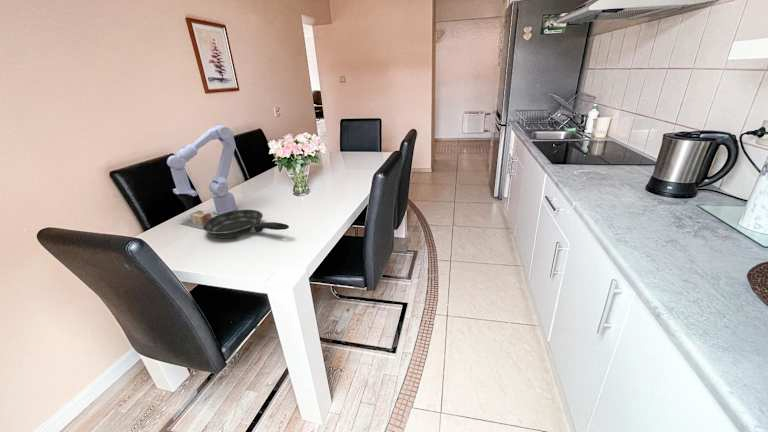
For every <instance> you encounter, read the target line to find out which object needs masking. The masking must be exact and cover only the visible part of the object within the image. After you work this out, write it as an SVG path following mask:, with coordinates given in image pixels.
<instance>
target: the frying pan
mask: <svg viewBox="0 0 768 432" xmlns="http://www.w3.org/2000/svg"><path fill="white" fill-rule="evenodd" d="M263 215H264V214H263V213H262V211H259V210H256V209H235V210H233V211H230V212H226V213H223V214H216V215H215V216H213V217H212V216H211V217H212V218H211V219H209V220H207V221H206V222H205V223H204V224H203V226H202V228H203V229H202V230H203V231H205V232H206V233H208V234H209V235H210V236H212V237H214V238H219V239H230V238H232V239H233V238H236V237H237V238H238V237H240V236H244V235H246V234H248V233H256V234H257V233H260V232H262V231H263V229H268V230H273V231H274V230H275V231H277V230H278V231H279V230H288V229H289V228H290V226H289V225H288V224H286V223H282V222H275V221H273V222H271V221H269V222H261V221H262V219H263V217H264V216H263Z"/></svg>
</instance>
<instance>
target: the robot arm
mask: <svg viewBox="0 0 768 432" xmlns="http://www.w3.org/2000/svg"><path fill="white" fill-rule="evenodd" d="M212 140H213V141H214V140H219V142H220V143H221V144H222V151H221V155H220V157H219V158H220V159H219V163H218V166H217V169H216V174H215V176H214V177H213V178H212V181H211V182H210V183H209V185H208V189H209V191H210V192H211V193H212V196H211V197H212V199H213V204H214V208H215V210H214V211H212V213H214V214H216V215H220V214H223V213H226V212H230V211H236V210H239V209H238V207H237V204H236V199H235V197H234V195H233V193H231V192H229V181H228V176H229V172H230V168H231V164H232V161H233V157H234V153H235V149H236V145H237V144H236V141H235V137H234V132H233V130H232V129H231V128H230V127H229V126H226V125H221V124H214V125H213V126H212V127H210V128H208V129H207V130H206V131H205V132H204V133H203V134H202V135H200V137H198V138H197V139H196V140H195V141H194V142H193V143H191V144H189V143H188V144H186V145H185V144H183V145H182V146H181V147H182V148H181V149H179V150H178V151H177V152H173V155H170V156H169V157H168V158H167V160H166V164H167V166H168V167H170V172H171V175H172V176H171V177H172V179H173V182H174V185H175V188H173V189H172V192H173V193H174V194H175V195H177V198H178V199H179V200H180V201H181V202H182V203H183V205H184V207H185V208H186V209H187V210H190V209H193V202H194V197H196V196H198V192H197V191H196V190H194V189H193V188H192V187H191V184H190V181H189V180H190V179H189V178H188V173H187V171H186V168H185V166H186V163H188V162H189V161H191V159H193V158H194V157H196V155H198V152H199V151H198V150H200V149H201V148H202V147H204V146H205V145H207V143H210V142H211V141H212Z"/></svg>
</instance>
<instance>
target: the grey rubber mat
mask: <svg viewBox="0 0 768 432" xmlns="http://www.w3.org/2000/svg"><path fill="white" fill-rule="evenodd" d="M179 224H180V225H183V226H187V227H192V228H195V229H198V230H203V228H202V226H203V225H199V224H195V223H192V220H191V218H190V219H187V220H185V221H182V222H181V223H179Z"/></svg>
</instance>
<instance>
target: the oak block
mask: <svg viewBox="0 0 768 432" xmlns="http://www.w3.org/2000/svg"><path fill="white" fill-rule="evenodd" d="M189 217H190V219H191V220H192V223H195V224H199V225H203V224H204V223H205V222H206V221H207V220H209V219H211V218H212V214H211V212H208V211H204V210H198V211H195V212H192V213H190V214H189Z"/></svg>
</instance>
